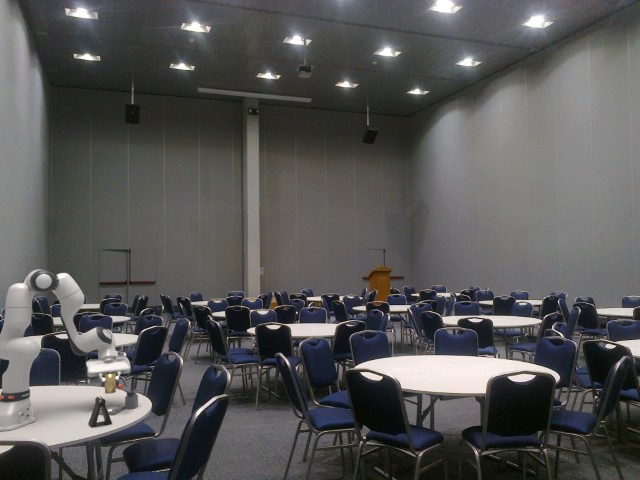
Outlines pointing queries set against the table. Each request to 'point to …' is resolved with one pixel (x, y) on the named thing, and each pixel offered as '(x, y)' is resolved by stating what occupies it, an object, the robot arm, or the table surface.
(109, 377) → the gold upright cylinder
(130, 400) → the lever post
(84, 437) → the table surface
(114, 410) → the press bed
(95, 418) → the black triangular frame
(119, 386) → the press lever
